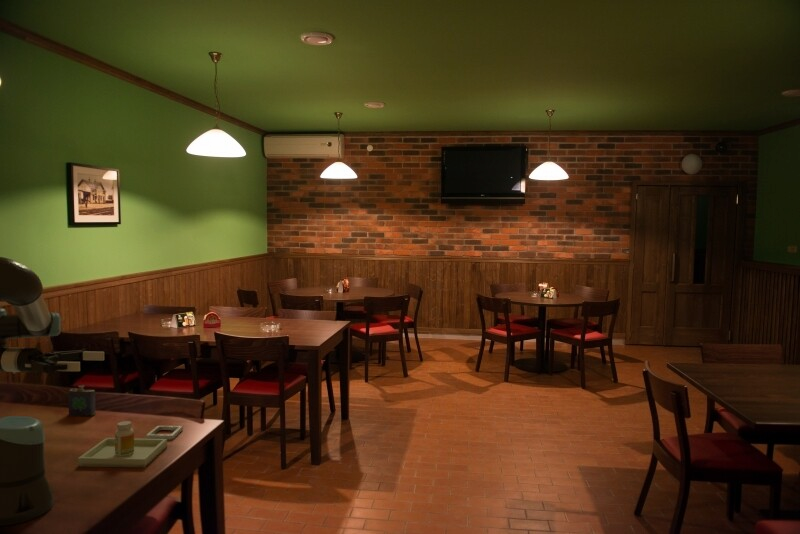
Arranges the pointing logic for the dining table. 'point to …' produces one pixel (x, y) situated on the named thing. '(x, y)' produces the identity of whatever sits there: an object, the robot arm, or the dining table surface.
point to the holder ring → (153, 434)
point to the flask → (81, 402)
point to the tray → (139, 458)
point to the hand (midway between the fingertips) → (92, 361)
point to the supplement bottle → (124, 439)
